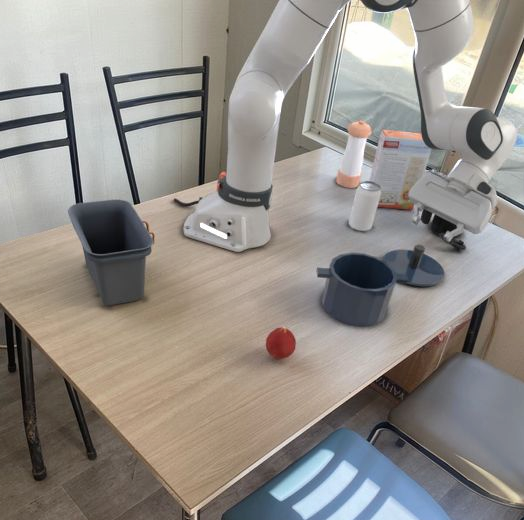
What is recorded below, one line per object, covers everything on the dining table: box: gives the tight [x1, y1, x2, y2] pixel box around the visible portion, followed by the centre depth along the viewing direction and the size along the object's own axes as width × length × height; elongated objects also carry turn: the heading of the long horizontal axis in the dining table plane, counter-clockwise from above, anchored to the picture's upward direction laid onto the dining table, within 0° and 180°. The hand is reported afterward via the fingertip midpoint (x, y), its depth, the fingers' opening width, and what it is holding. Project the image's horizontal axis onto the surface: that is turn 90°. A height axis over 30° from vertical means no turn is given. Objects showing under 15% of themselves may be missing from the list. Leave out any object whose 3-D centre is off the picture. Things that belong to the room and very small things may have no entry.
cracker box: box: [368, 129, 433, 211], centre depth 154 cm, size 14×6×21 cm, turn 92°
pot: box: [315, 251, 408, 327], centre depth 117 cm, size 14×20×10 cm
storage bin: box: [67, 199, 155, 307], centre depth 113 cm, size 21×16×14 cm
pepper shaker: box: [335, 120, 372, 189], centre depth 163 cm, size 7×7×19 cm
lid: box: [382, 244, 445, 287], centre depth 133 cm, size 16×16×7 cm
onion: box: [265, 326, 297, 360], centre depth 102 cm, size 6×6×8 cm
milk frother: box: [420, 209, 467, 251], centre depth 145 cm, size 14×16×15 cm
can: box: [348, 180, 381, 232], centre depth 145 cm, size 6×6×12 cm
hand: (429, 231), depth 129 cm, fingers open, 8 cm apart
